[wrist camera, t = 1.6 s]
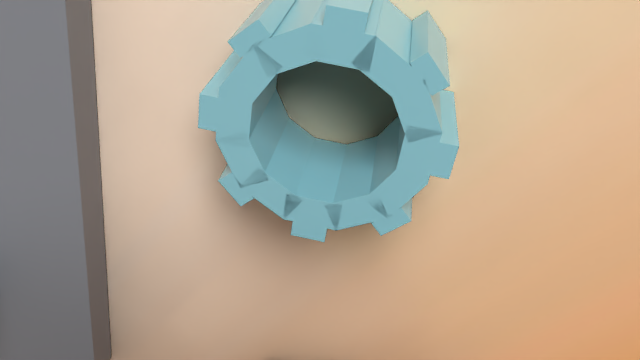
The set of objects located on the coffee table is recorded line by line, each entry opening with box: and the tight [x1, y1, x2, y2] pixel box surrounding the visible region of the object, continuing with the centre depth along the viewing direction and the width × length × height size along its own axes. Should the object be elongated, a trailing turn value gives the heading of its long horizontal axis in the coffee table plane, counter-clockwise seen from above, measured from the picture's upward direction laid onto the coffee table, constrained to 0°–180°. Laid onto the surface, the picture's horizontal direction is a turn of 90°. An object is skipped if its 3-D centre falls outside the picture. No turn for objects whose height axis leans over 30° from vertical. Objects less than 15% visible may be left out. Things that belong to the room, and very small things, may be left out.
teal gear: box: [198, 0, 459, 242], centre depth 17 cm, size 7×7×4 cm
